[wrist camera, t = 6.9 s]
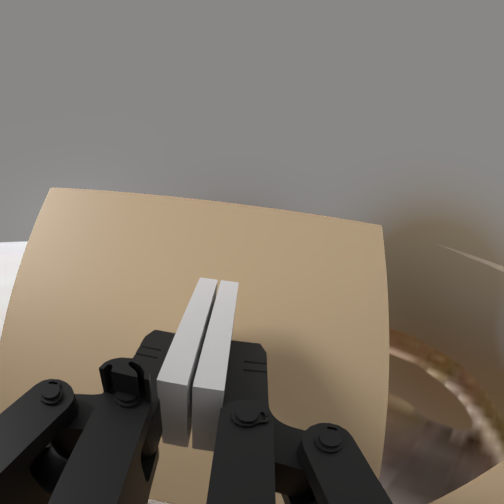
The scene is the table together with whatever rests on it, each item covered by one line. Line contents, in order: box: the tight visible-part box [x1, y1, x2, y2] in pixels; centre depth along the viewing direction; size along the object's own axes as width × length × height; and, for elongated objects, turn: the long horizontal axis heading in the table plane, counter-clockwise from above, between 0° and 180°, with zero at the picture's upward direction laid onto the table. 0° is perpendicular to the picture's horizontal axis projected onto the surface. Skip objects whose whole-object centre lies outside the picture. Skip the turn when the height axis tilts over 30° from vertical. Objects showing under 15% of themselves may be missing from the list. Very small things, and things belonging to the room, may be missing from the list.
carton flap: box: [0, 187, 389, 504], centre depth 14 cm, size 16×21×1 cm
